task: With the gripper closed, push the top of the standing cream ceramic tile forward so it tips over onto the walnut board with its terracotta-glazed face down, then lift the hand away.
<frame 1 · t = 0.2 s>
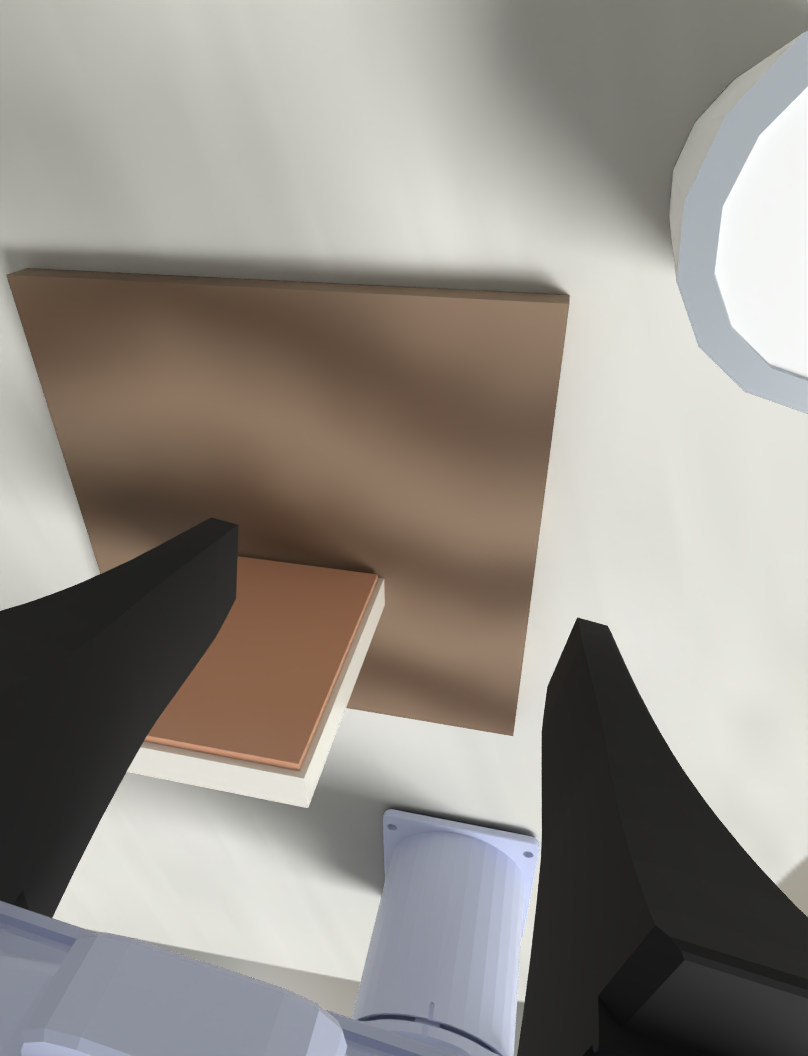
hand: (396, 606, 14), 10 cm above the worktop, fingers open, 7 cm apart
glazed tile: (297, 578, 26), point 1 cm above the worktop, touching walnut board
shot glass: (785, 181, 17), on the worktop
walnut board: (302, 521, 26), on the worktop
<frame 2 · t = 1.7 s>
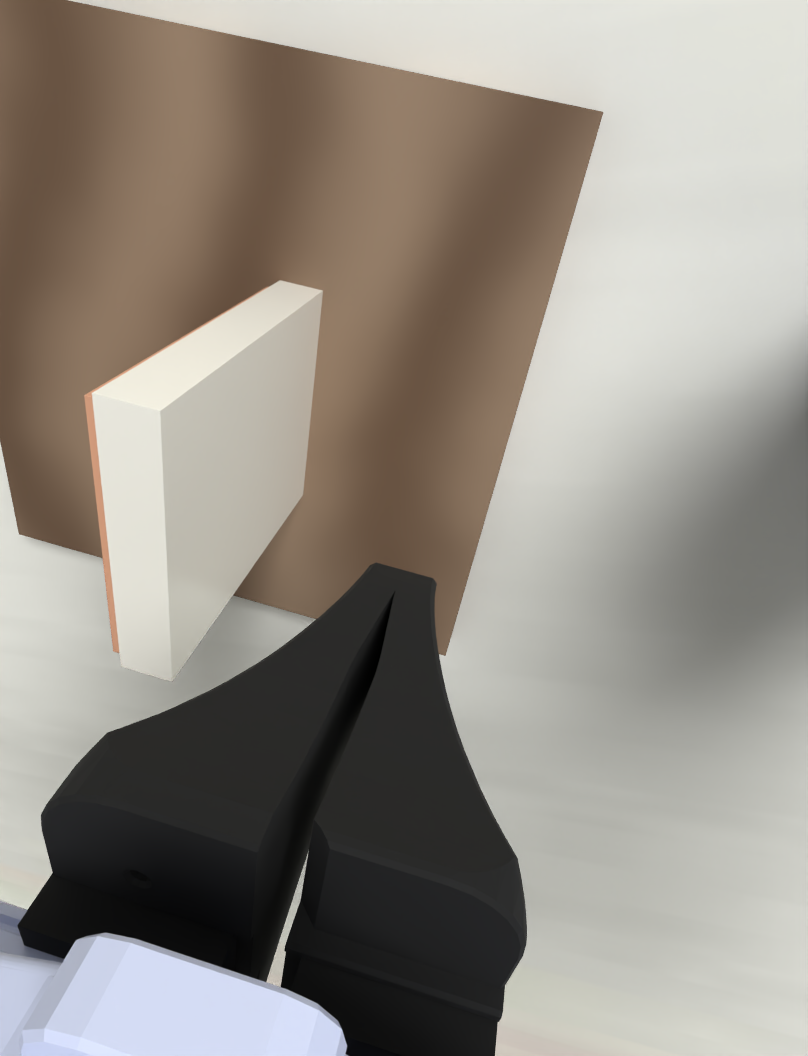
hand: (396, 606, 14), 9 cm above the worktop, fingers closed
glazed tile: (289, 396, 21), point 1 cm above the worktop, touching walnut board
walnut board: (243, 371, 22), on the worktop
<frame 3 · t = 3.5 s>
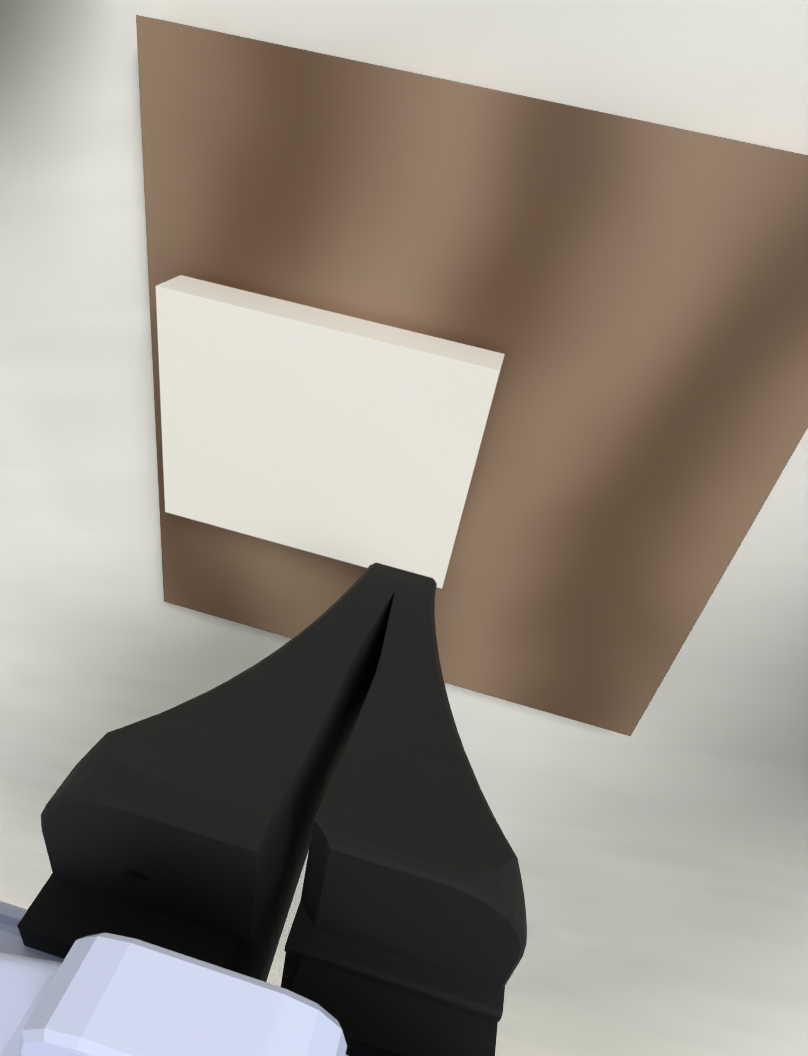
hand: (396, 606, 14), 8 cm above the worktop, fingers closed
glazed tile: (471, 478, 19), point 2 cm above the worktop, tilted 90°, touching walnut board
walnut board: (443, 441, 20), on the worktop
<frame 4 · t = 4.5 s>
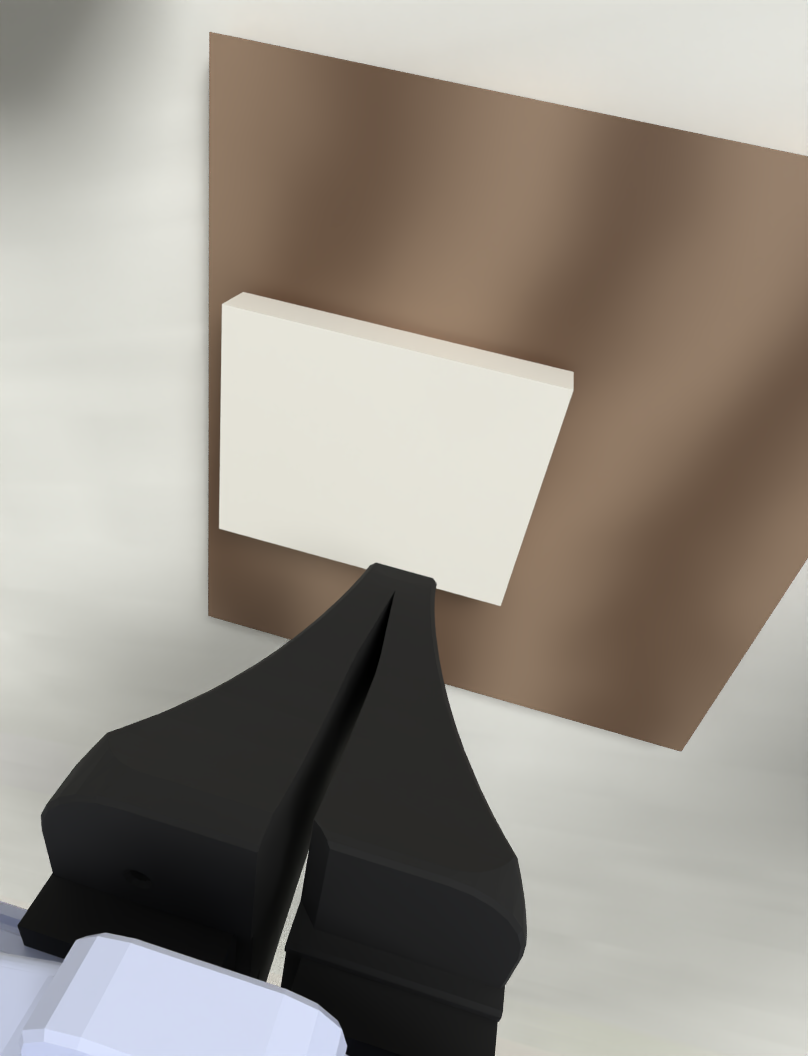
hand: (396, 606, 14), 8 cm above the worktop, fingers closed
glazed tile: (534, 496, 19), point 2 cm above the worktop, tilted 90°, touching walnut board
walnut board: (501, 457, 20), on the worktop
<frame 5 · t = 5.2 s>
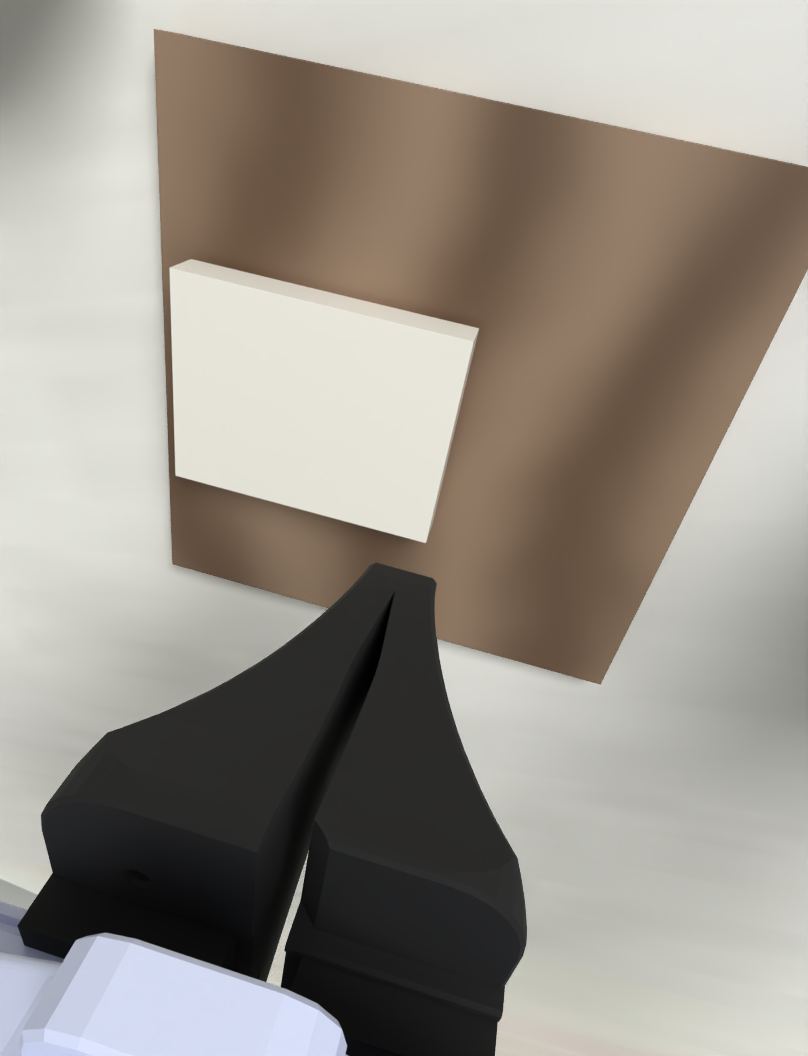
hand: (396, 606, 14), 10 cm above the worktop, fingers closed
glazed tile: (451, 441, 21), point 2 cm above the worktop, tilted 90°, touching walnut board
walnut board: (427, 410, 22), on the worktop
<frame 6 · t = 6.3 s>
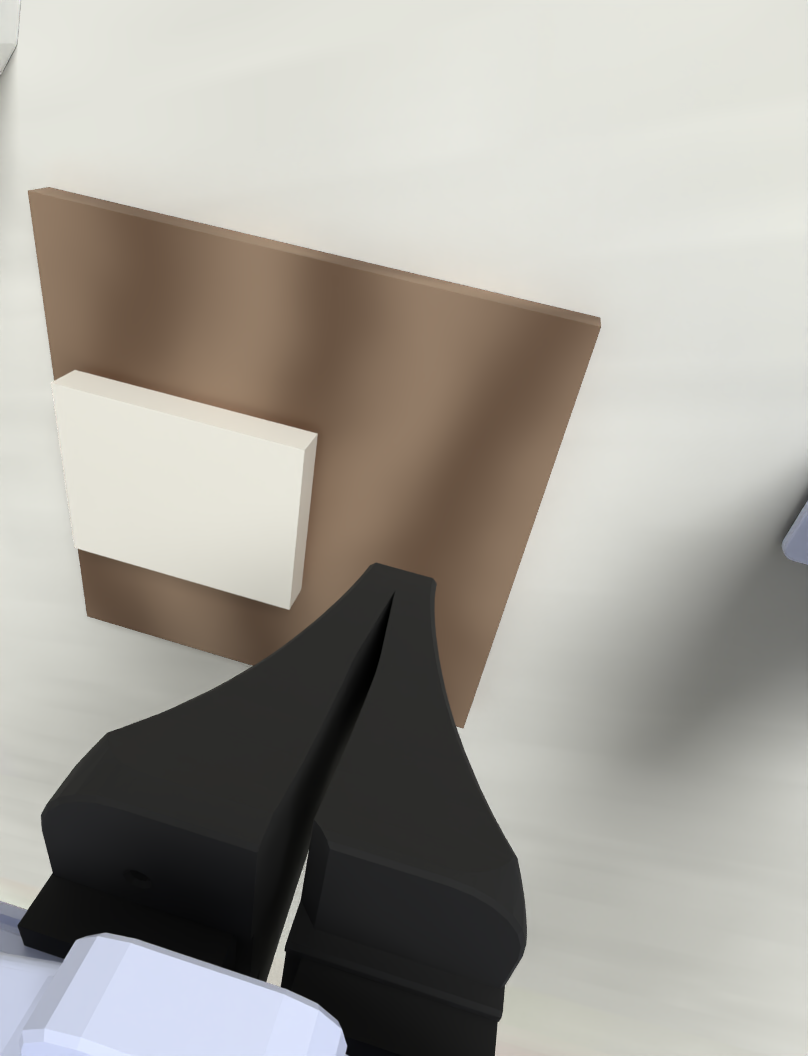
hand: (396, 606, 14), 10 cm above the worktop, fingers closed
glazed tile: (303, 525, 24), point 2 cm above the worktop, tilted 90°, touching walnut board
walnut board: (292, 492, 26), on the worktop
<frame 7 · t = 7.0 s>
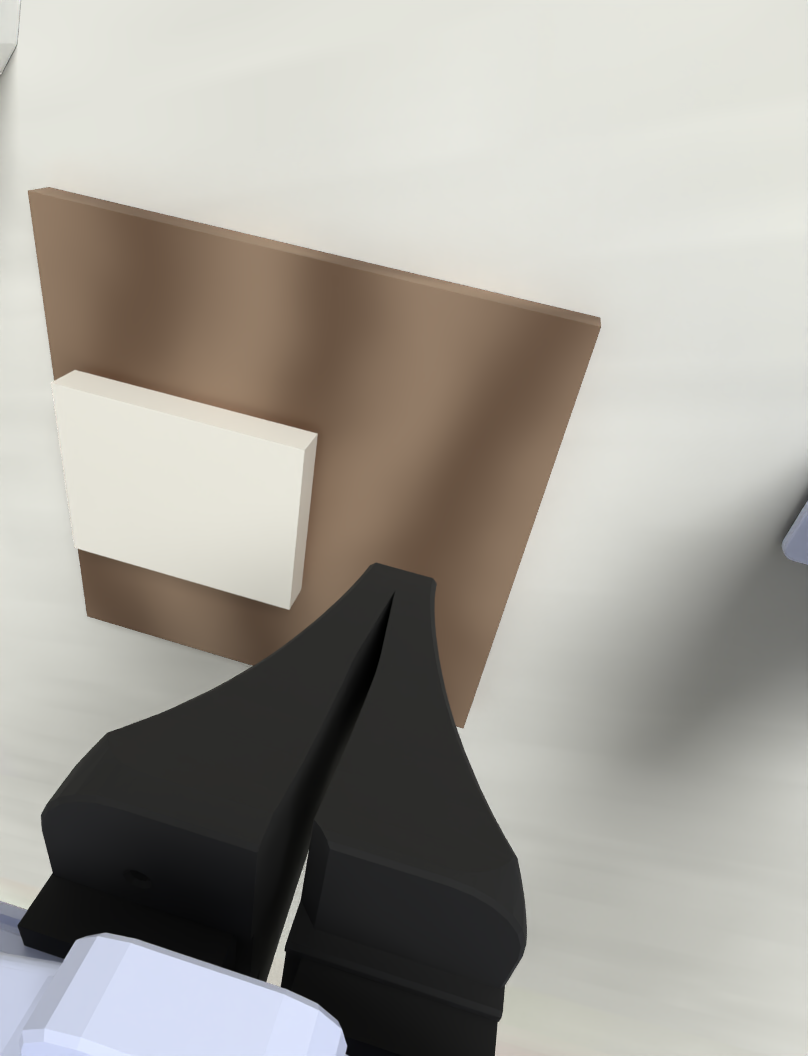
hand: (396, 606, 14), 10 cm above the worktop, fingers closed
glazed tile: (303, 525, 24), point 2 cm above the worktop, tilted 90°, touching walnut board
walnut board: (292, 492, 26), on the worktop
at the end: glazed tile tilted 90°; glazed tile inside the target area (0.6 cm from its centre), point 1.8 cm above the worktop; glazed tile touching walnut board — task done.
